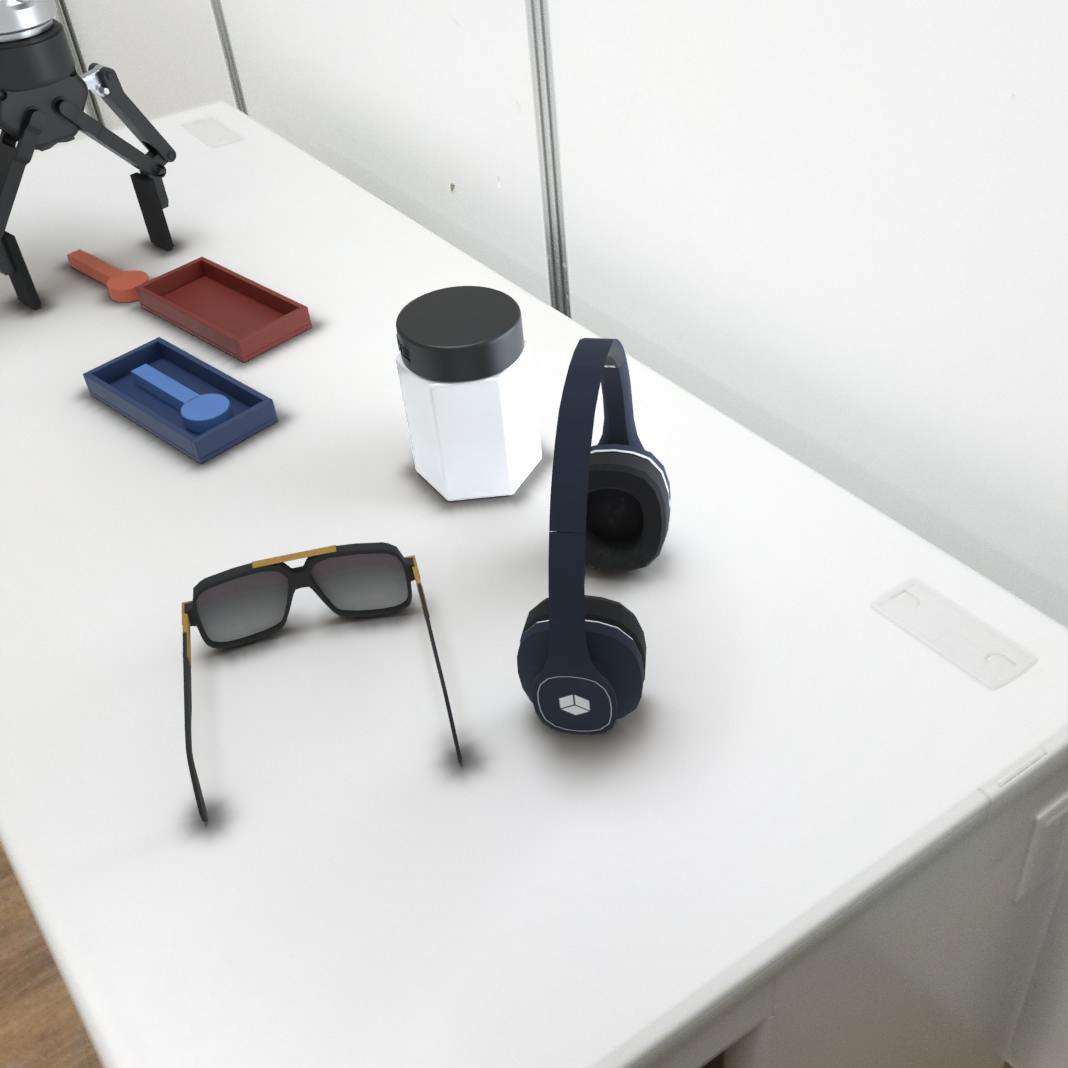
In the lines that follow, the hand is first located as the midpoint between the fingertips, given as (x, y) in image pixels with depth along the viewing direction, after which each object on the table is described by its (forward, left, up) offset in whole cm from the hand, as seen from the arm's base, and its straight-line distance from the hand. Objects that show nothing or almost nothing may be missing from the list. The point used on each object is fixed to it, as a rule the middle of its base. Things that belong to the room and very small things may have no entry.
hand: (98, 273), depth 112 cm
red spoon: (+2, -1, 0) cm, 2 cm away
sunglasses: (+39, -47, 0) cm, 61 cm away
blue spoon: (+18, -19, 0) cm, 26 cm away
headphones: (+54, -39, 0) cm, 67 cm away
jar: (+42, -24, 0) cm, 49 cm away
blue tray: (+18, -19, 0) cm, 26 cm away
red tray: (+15, -6, 0) cm, 16 cm away
